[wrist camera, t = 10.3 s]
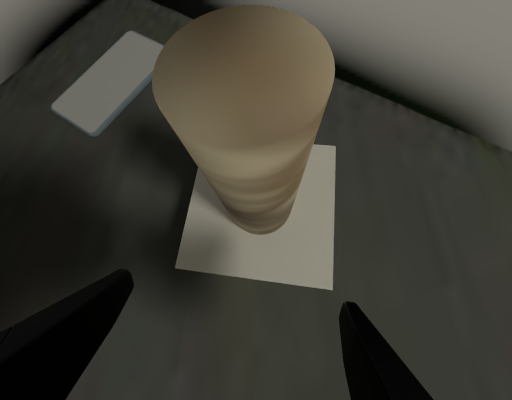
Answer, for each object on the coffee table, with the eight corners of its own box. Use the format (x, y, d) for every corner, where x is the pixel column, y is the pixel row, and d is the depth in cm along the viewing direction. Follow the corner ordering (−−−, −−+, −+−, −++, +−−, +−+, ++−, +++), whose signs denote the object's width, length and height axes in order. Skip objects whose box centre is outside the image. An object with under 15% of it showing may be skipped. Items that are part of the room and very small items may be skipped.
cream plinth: (323, 288, 19) (332, 290, 16) (188, 269, 20) (174, 268, 18) (327, 162, 23) (335, 146, 20) (213, 152, 24) (205, 136, 21)
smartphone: (46, 107, 27) (129, 27, 31) (53, 112, 28) (133, 35, 31) (91, 137, 25) (175, 49, 29) (98, 142, 26) (178, 56, 30)
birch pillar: (248, 247, 18) (200, 182, 5) (218, 194, 19) (126, 50, 7) (304, 213, 18) (375, 85, 6) (270, 164, 20) (271, -17, 8)
